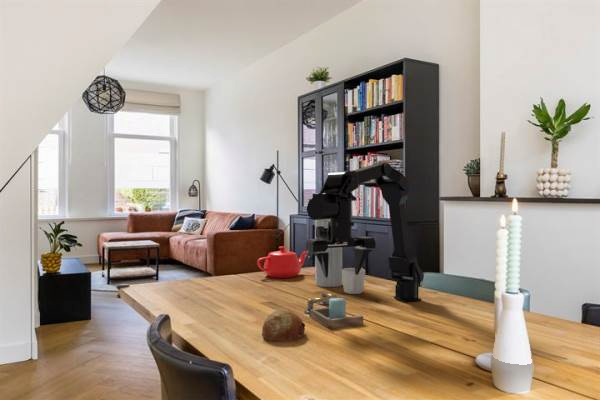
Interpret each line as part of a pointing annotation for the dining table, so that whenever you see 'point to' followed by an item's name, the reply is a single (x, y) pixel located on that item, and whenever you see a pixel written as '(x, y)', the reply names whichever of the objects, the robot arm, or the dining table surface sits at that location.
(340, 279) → the vase
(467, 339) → the dining table surface
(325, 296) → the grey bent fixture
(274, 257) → the teapot
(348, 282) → the cup
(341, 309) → the spool
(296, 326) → the bread roll
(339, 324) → the dock
